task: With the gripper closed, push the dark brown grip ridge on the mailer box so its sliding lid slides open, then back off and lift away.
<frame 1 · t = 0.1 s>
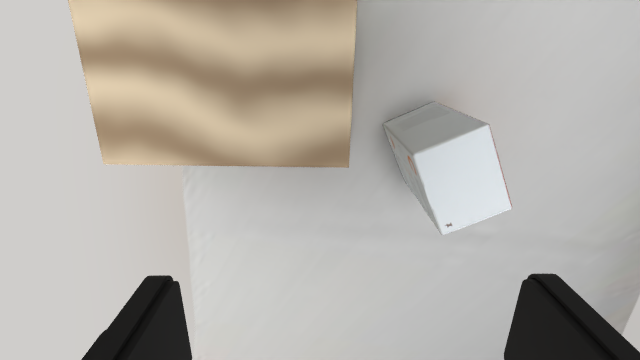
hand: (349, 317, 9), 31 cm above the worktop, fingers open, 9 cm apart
mailer lid: (216, 73, 27), point 10 cm above the worktop, slide at 0.0 cm
small box: (418, 142, 40), on the worktop
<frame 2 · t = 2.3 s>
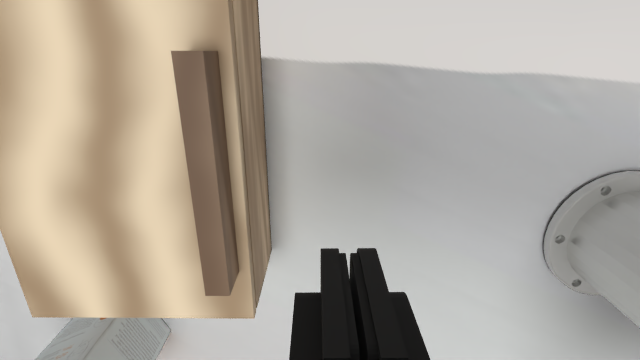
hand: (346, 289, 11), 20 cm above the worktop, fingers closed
mailer lid: (102, 178, 20), point 10 cm above the worktop, slide at 0.0 cm
small box: (126, 320, 37), on the worktop
mailer box: (171, 138, 29), on the worktop
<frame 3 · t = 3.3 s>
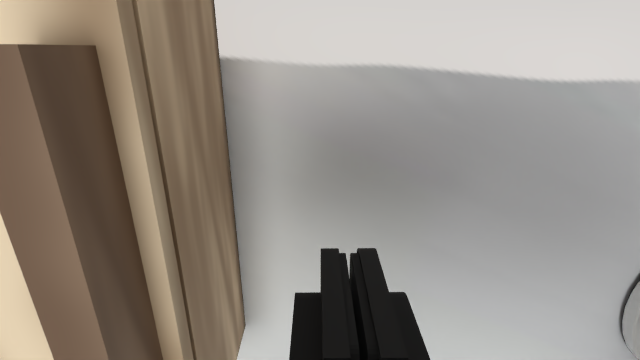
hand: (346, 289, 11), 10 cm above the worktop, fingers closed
mailer box: (92, 176, 20), on the worktop
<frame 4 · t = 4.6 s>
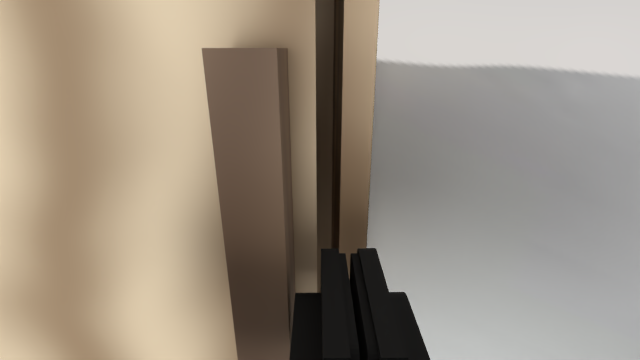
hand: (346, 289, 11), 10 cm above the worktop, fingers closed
mailer lid: (63, 285, 11), point 10 cm above the worktop, slide at 1.8 cm, touching gripper
mailer box: (212, 176, 20), on the worktop
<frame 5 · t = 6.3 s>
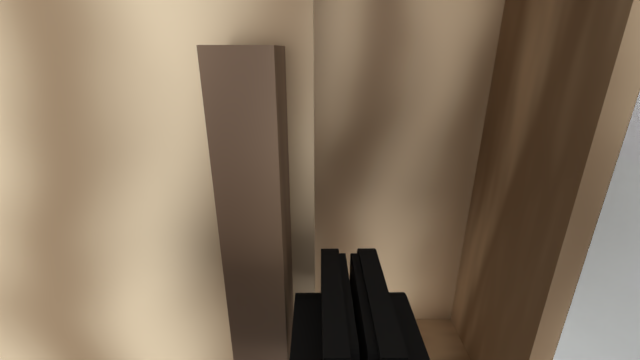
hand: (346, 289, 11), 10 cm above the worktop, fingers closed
mailer lid: (56, 287, 11), point 10 cm above the worktop, slide at 10.0 cm, touching gripper
mailer box: (350, 176, 20), on the worktop
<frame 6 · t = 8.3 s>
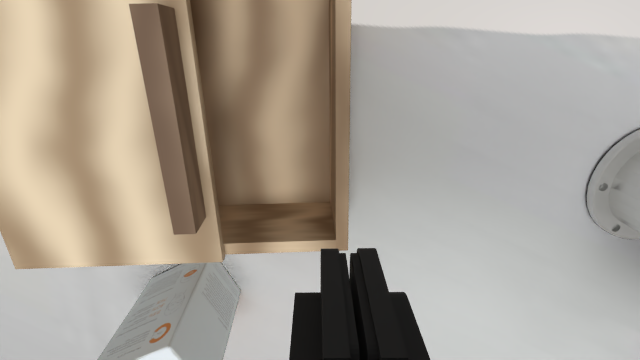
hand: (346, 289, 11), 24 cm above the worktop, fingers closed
mailer lid: (74, 129, 22), point 10 cm above the worktop, slide at 10.0 cm
small box: (198, 283, 39), on the worktop
mailer box: (253, 102, 32), on the worktop
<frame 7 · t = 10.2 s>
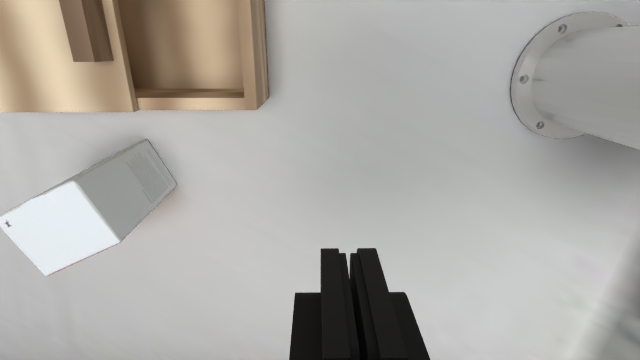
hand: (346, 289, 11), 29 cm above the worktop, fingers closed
small box: (136, 175, 40), on the worktop
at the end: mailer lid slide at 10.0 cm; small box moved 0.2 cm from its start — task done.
